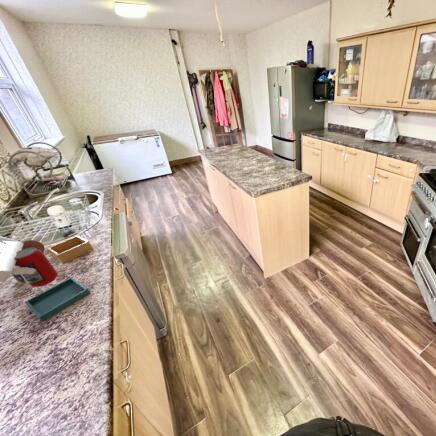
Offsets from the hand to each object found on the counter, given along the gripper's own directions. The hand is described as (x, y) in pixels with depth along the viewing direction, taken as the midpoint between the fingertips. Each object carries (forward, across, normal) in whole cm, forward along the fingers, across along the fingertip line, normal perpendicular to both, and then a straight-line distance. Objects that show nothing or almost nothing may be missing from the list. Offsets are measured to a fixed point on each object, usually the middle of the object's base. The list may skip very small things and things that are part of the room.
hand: (36, 264), depth 75 cm
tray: (+11, 0, +12) cm, 16 cm away
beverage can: (+4, 0, +5) cm, 7 cm away
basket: (+12, +34, +10) cm, 37 cm away
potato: (+3, +42, +19) cm, 46 cm away
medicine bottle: (+4, +23, +18) cm, 30 cm away
